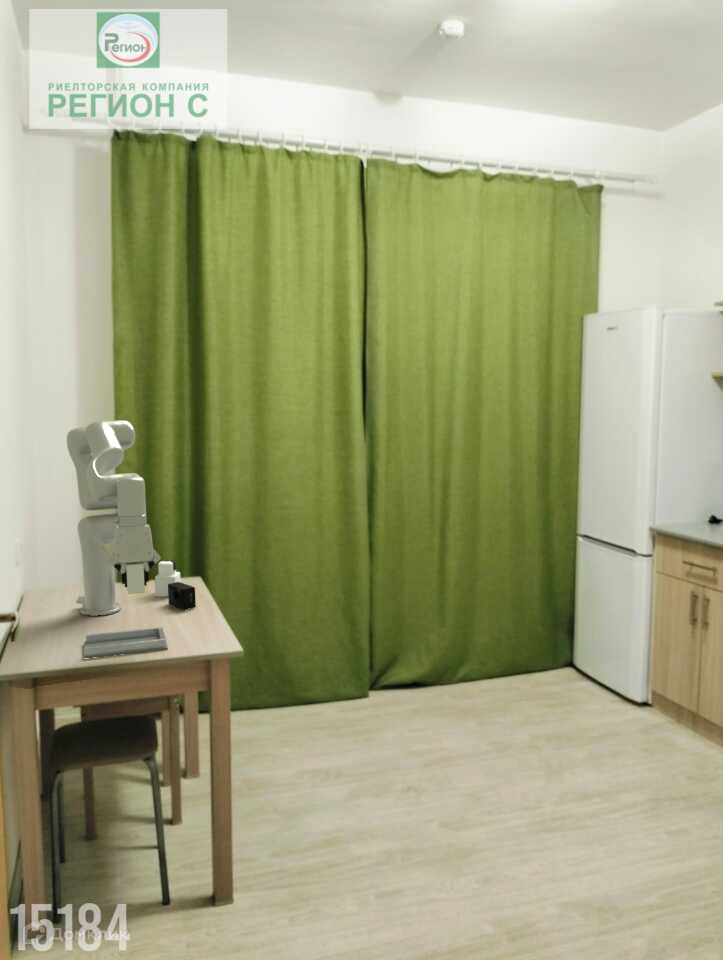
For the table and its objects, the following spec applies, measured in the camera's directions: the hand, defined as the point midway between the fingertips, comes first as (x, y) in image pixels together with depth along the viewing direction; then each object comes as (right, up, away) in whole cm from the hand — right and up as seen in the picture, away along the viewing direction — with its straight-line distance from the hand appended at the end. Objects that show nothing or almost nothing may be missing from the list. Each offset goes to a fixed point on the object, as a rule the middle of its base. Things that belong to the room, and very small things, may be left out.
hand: (135, 584), depth 212 cm
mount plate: (-3, -17, +1) cm, 18 cm away
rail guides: (-3, -17, +1) cm, 18 cm away
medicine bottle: (-5, -11, +55) cm, 56 cm away
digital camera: (+3, -13, +40) cm, 42 cm away
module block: (0, -2, 0) cm, 2 cm away
